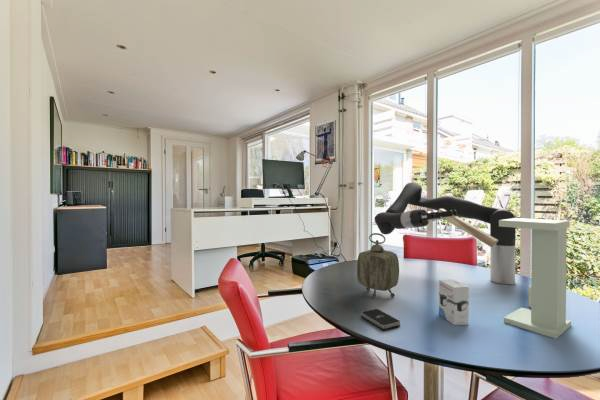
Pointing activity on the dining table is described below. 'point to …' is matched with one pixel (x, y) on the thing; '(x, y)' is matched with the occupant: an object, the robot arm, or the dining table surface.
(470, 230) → the ash rod
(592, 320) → the dining table surface
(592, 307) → the dining table surface
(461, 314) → the ink box
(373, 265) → the tabletop clock
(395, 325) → the external hard drive
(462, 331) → the dining table surface
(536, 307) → the shelf stand
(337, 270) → the dining table surface
